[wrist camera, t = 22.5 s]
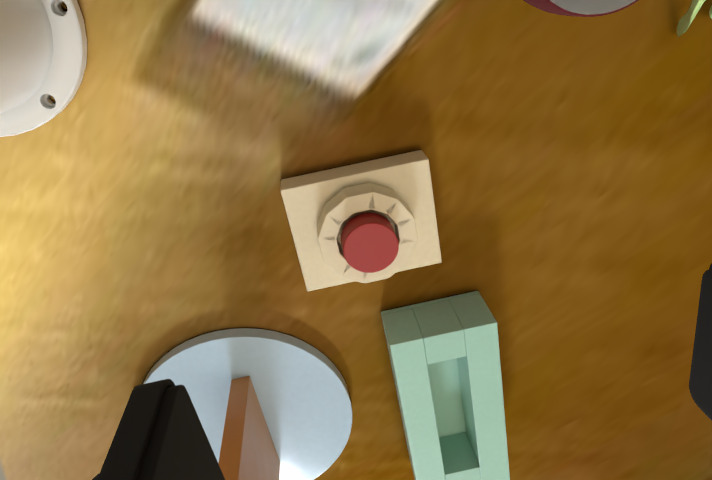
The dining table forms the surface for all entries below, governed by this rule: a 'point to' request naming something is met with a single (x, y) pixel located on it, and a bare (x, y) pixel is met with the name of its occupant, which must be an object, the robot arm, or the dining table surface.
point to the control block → (357, 196)
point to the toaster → (449, 387)
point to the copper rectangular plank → (247, 437)
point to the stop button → (369, 242)
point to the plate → (267, 393)
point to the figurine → (690, 16)
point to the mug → (581, 6)
